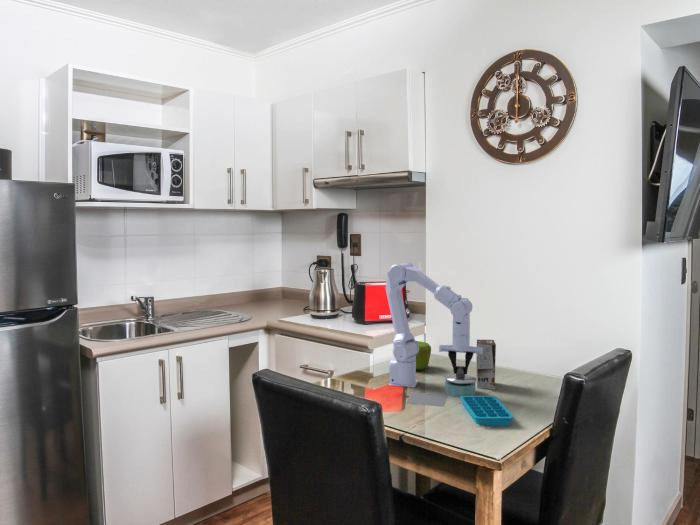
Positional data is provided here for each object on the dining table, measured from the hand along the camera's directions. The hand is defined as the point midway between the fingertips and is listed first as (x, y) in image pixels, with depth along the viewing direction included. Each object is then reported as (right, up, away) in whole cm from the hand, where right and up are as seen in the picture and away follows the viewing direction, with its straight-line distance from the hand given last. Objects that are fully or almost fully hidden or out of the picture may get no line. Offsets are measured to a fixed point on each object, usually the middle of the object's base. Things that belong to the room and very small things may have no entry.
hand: (460, 373), depth 185 cm
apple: (-11, -5, +34) cm, 36 cm away
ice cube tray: (+4, -9, -20) cm, 22 cm away
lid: (0, -2, 0) cm, 2 cm away
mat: (-12, -8, -6) cm, 16 cm away
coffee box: (+11, -7, +10) cm, 16 cm away
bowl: (0, -7, 0) cm, 7 cm away
